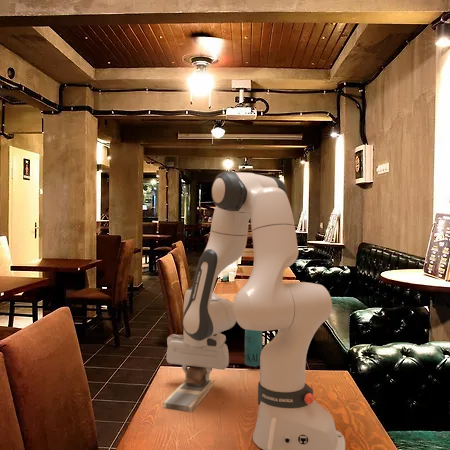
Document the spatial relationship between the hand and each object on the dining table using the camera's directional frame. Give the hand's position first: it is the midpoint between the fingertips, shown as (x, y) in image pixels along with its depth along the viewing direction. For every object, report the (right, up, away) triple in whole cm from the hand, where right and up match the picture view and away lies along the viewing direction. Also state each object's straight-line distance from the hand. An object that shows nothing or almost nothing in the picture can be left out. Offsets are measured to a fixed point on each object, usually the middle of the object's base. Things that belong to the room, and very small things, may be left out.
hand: (197, 379), depth 143 cm
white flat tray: (-2, -3, -6) cm, 7 cm away
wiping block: (0, -1, 0) cm, 1 cm away
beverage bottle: (+19, -2, +18) cm, 26 cm away
